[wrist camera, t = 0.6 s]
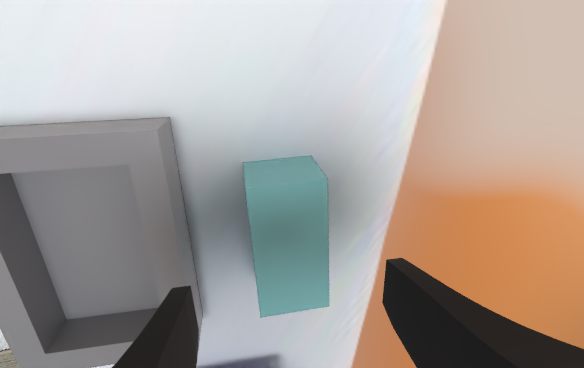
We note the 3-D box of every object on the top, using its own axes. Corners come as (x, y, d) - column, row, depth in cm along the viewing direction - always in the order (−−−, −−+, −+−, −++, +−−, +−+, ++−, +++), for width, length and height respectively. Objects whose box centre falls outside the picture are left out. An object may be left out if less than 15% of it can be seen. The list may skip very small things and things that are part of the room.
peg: (314, 264, 23) (329, 306, 19) (256, 273, 22) (260, 317, 18) (310, 154, 19) (327, 178, 16) (243, 161, 19) (244, 187, 15)
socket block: (202, 314, 22) (198, 351, 20) (51, 334, 21) (24, 377, 18) (169, 117, 17) (156, 130, 14) (-34, 128, 16) (-90, 144, 13)
